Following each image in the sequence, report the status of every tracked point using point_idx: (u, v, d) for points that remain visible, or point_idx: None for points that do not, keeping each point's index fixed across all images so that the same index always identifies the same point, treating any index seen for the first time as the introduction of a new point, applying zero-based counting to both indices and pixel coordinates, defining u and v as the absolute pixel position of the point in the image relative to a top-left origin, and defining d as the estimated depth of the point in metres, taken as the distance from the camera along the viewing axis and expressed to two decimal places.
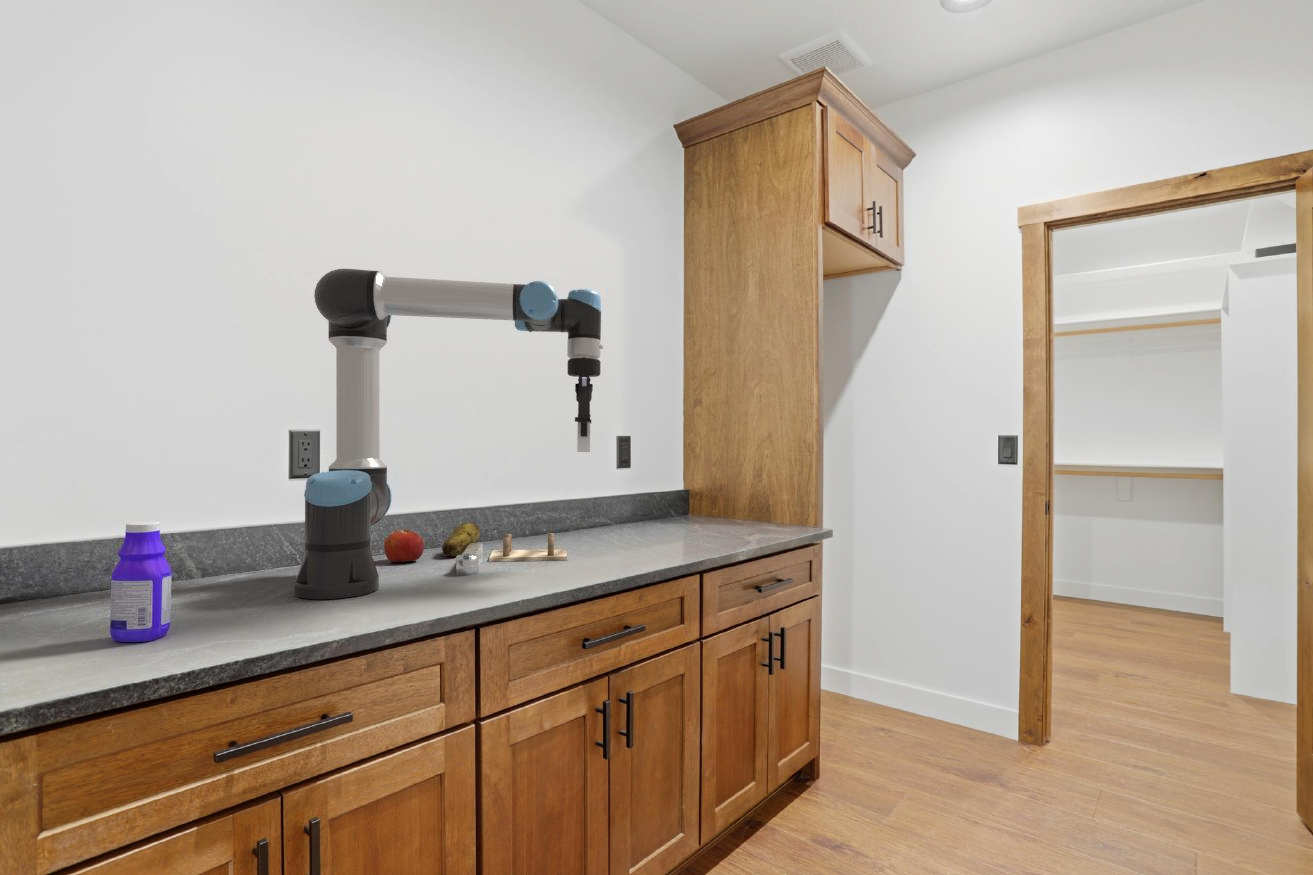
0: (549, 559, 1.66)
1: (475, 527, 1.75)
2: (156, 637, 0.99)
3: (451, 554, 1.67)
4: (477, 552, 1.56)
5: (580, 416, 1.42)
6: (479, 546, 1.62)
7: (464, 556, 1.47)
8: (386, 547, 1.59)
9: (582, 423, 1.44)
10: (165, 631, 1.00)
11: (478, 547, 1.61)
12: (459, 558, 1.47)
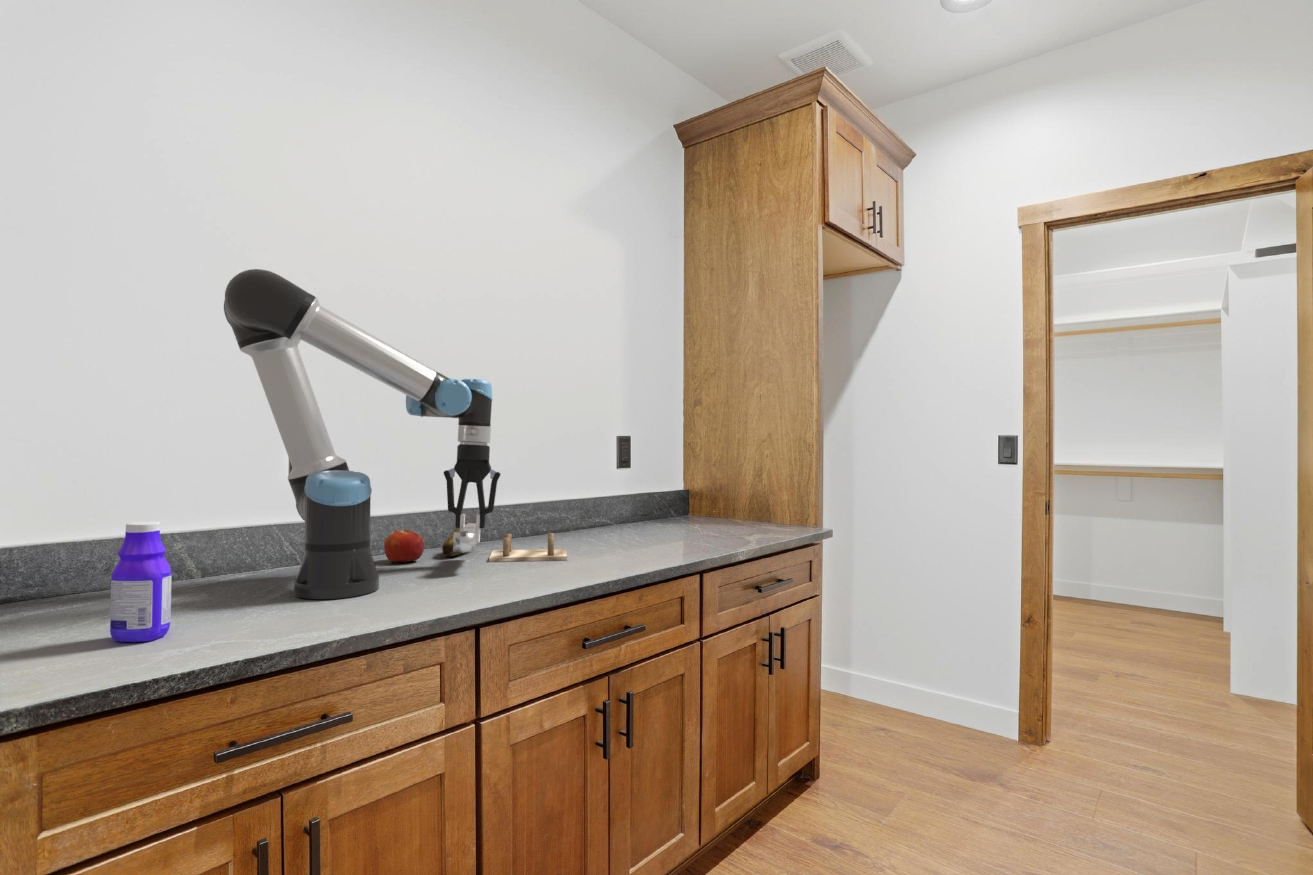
0: (549, 559, 1.66)
1: None
2: (156, 637, 0.99)
3: (451, 554, 1.67)
4: (474, 530, 1.56)
5: None
6: None
7: (461, 533, 1.47)
8: (386, 547, 1.59)
9: None
10: (165, 631, 1.00)
11: (475, 526, 1.60)
12: (456, 535, 1.47)
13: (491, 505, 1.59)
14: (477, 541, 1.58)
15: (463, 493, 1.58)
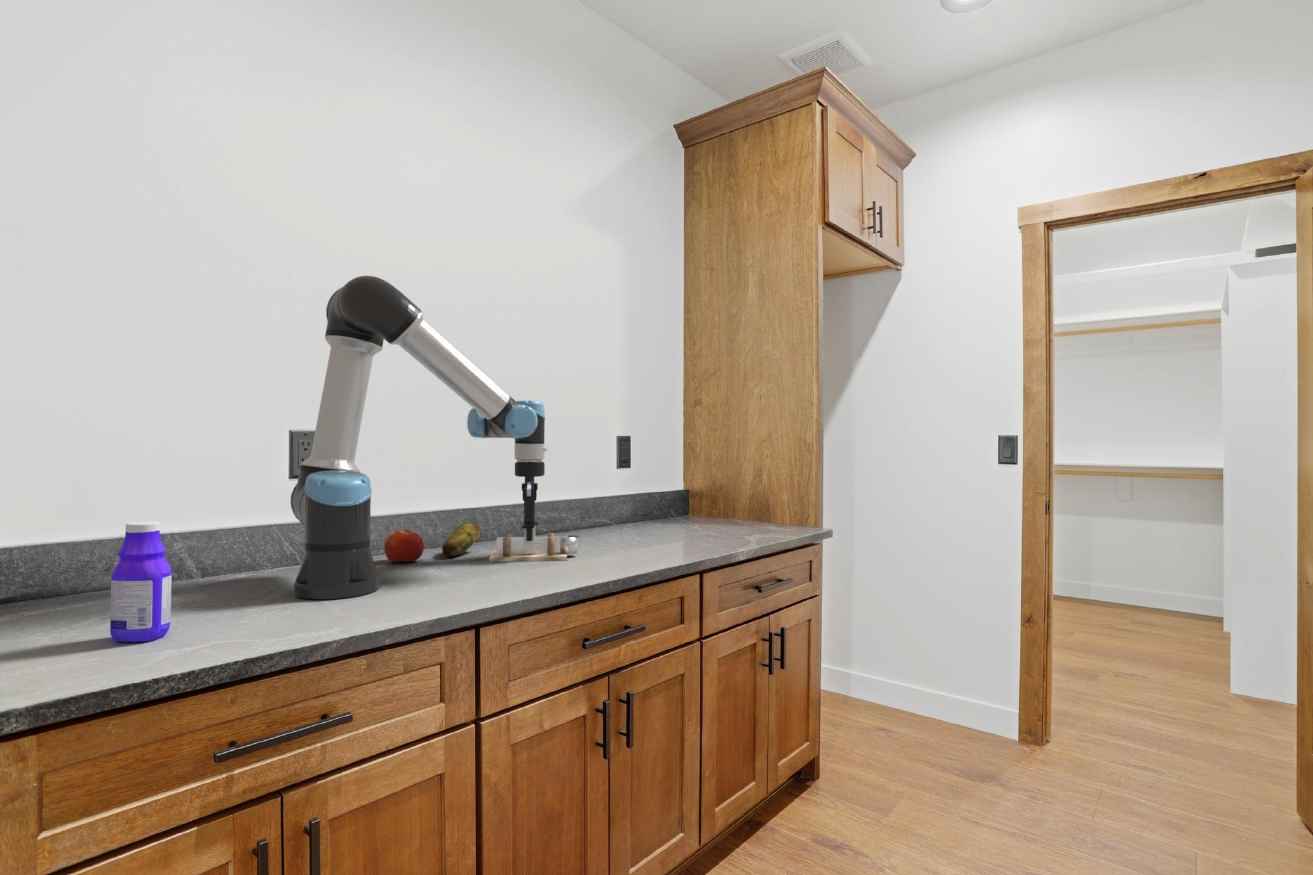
0: (549, 559, 1.66)
1: (475, 527, 1.75)
2: (156, 637, 0.99)
3: (451, 554, 1.67)
4: None
5: (525, 525, 1.65)
6: (518, 537, 1.71)
7: None
8: (386, 547, 1.59)
9: (527, 530, 1.67)
10: (165, 631, 1.00)
11: None
12: (575, 538, 1.71)
13: None
14: None
15: None
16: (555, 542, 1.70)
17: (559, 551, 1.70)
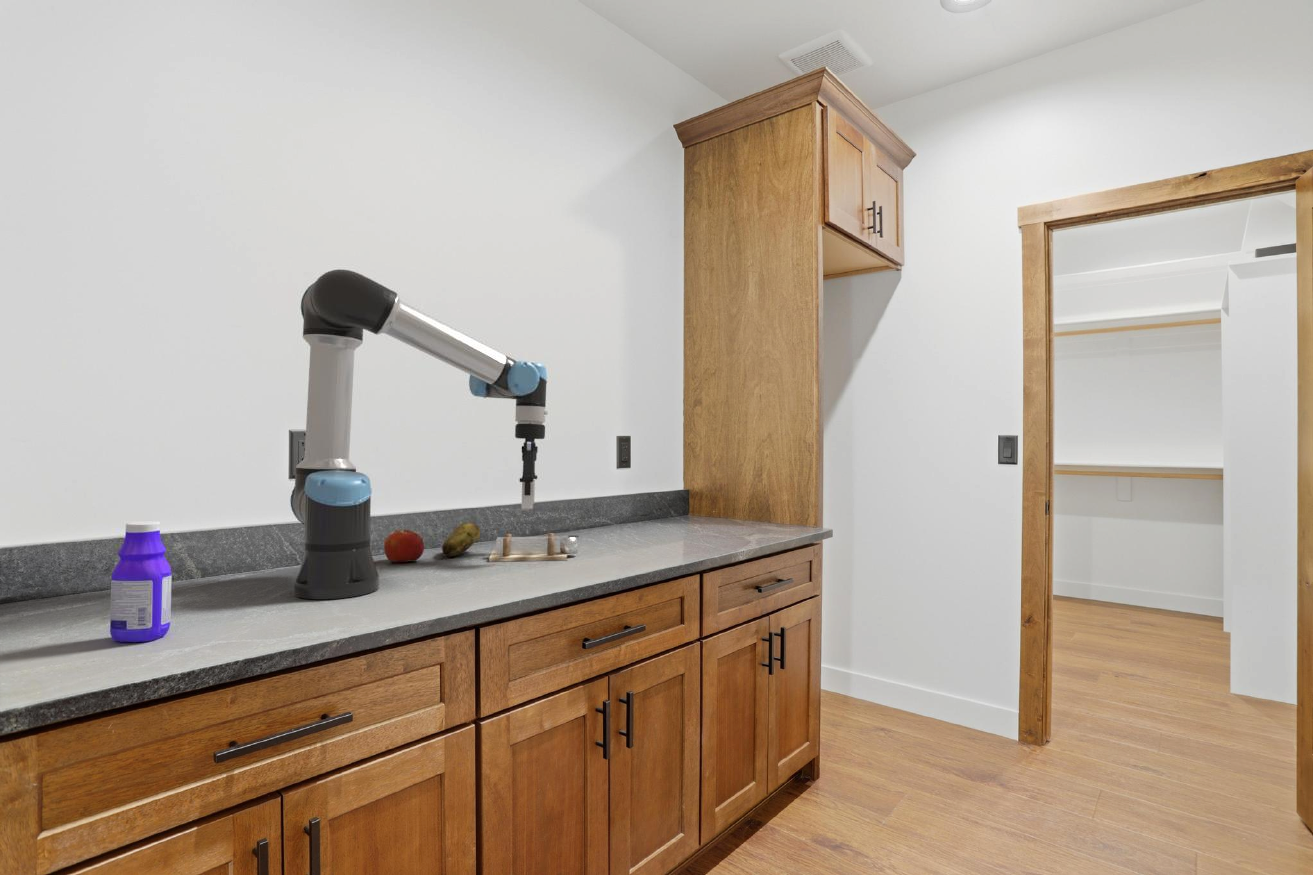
0: (549, 559, 1.66)
1: (475, 527, 1.75)
2: (156, 637, 0.99)
3: (451, 554, 1.67)
4: None
5: (524, 478, 1.60)
6: (518, 537, 1.71)
7: None
8: (386, 547, 1.59)
9: (526, 483, 1.62)
10: (165, 631, 1.00)
11: (524, 537, 1.71)
12: (575, 538, 1.71)
13: None
14: None
15: (533, 466, 1.66)
16: (555, 542, 1.70)
17: (559, 551, 1.70)
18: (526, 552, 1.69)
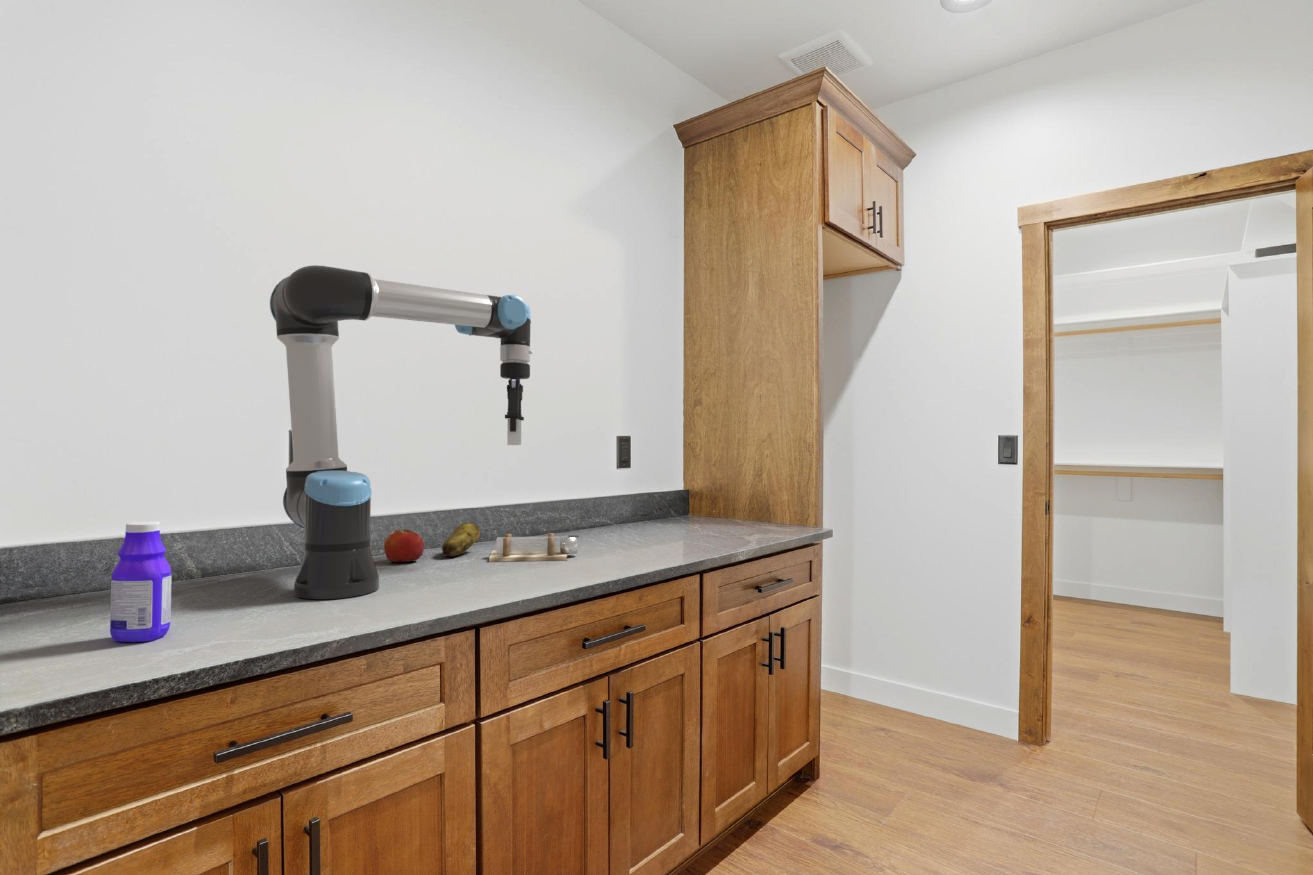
0: (549, 559, 1.66)
1: (475, 527, 1.75)
2: (156, 637, 0.99)
3: (451, 554, 1.67)
4: None
5: (509, 413, 1.62)
6: (518, 537, 1.71)
7: None
8: (386, 547, 1.59)
9: (511, 420, 1.63)
10: (165, 631, 1.00)
11: (524, 537, 1.71)
12: (575, 538, 1.71)
13: None
14: None
15: None
16: (555, 542, 1.70)
17: (559, 551, 1.70)
18: (526, 552, 1.69)
